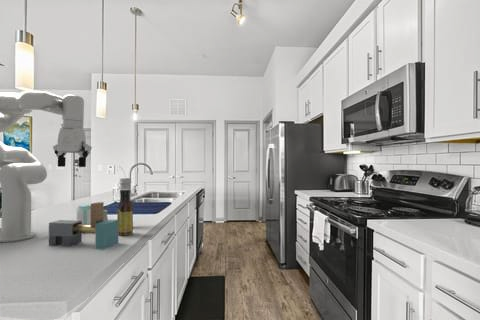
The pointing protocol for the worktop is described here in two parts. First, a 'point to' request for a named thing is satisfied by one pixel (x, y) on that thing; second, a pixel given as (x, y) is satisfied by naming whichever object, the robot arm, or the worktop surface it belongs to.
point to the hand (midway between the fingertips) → (71, 166)
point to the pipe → (124, 182)
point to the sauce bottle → (125, 213)
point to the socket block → (106, 234)
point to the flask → (105, 215)
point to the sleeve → (63, 233)
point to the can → (84, 214)
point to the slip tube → (95, 218)
